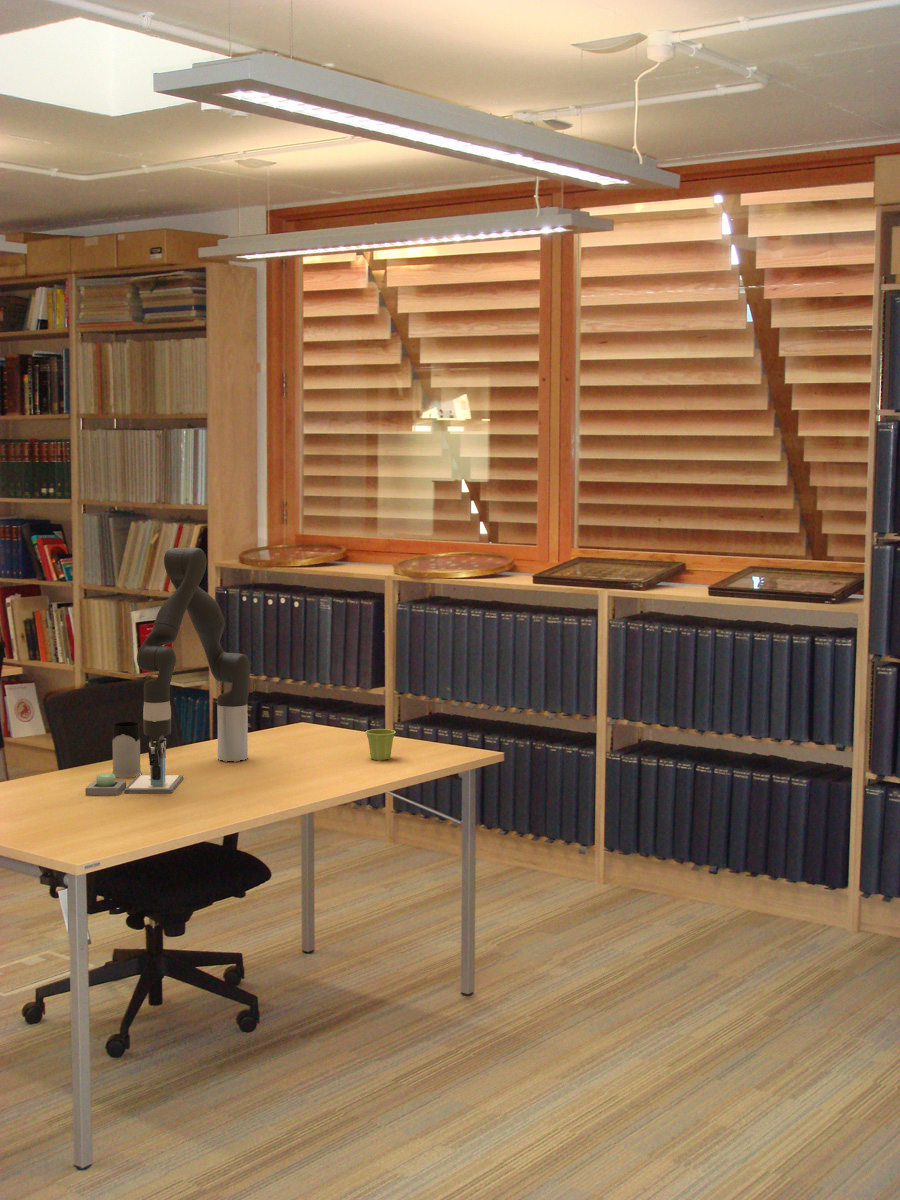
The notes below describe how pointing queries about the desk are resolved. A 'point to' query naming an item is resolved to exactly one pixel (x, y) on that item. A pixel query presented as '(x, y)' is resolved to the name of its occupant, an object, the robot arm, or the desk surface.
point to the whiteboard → (144, 785)
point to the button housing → (105, 788)
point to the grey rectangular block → (162, 780)
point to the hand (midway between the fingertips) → (157, 777)
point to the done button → (105, 779)
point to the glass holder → (126, 749)
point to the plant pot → (380, 743)
